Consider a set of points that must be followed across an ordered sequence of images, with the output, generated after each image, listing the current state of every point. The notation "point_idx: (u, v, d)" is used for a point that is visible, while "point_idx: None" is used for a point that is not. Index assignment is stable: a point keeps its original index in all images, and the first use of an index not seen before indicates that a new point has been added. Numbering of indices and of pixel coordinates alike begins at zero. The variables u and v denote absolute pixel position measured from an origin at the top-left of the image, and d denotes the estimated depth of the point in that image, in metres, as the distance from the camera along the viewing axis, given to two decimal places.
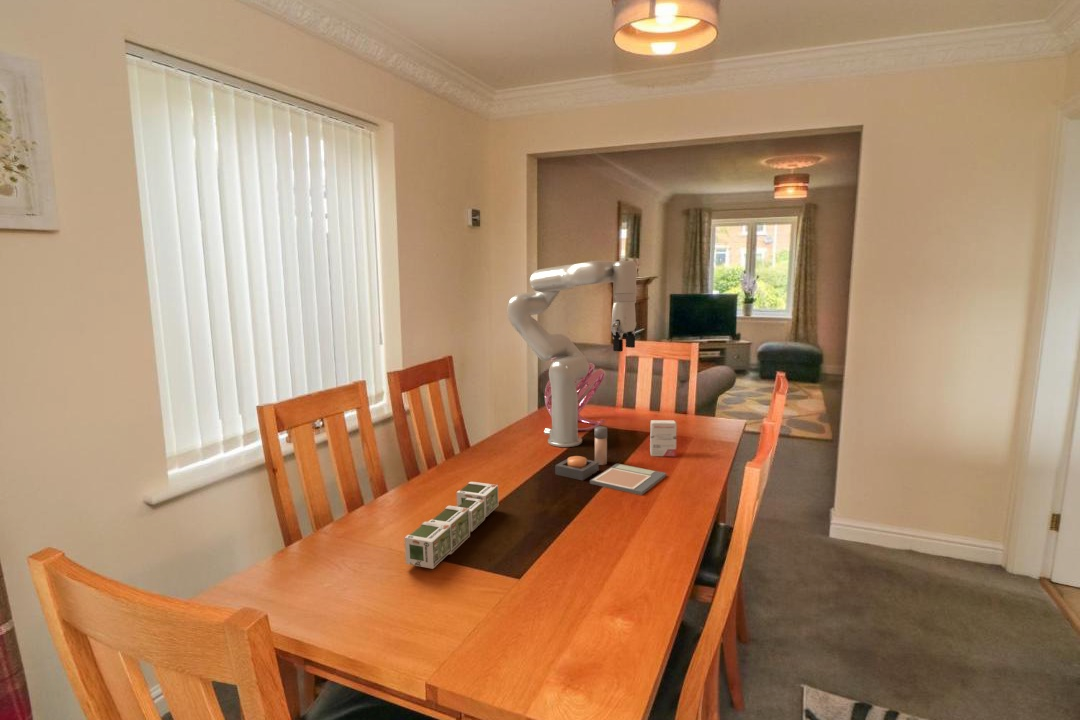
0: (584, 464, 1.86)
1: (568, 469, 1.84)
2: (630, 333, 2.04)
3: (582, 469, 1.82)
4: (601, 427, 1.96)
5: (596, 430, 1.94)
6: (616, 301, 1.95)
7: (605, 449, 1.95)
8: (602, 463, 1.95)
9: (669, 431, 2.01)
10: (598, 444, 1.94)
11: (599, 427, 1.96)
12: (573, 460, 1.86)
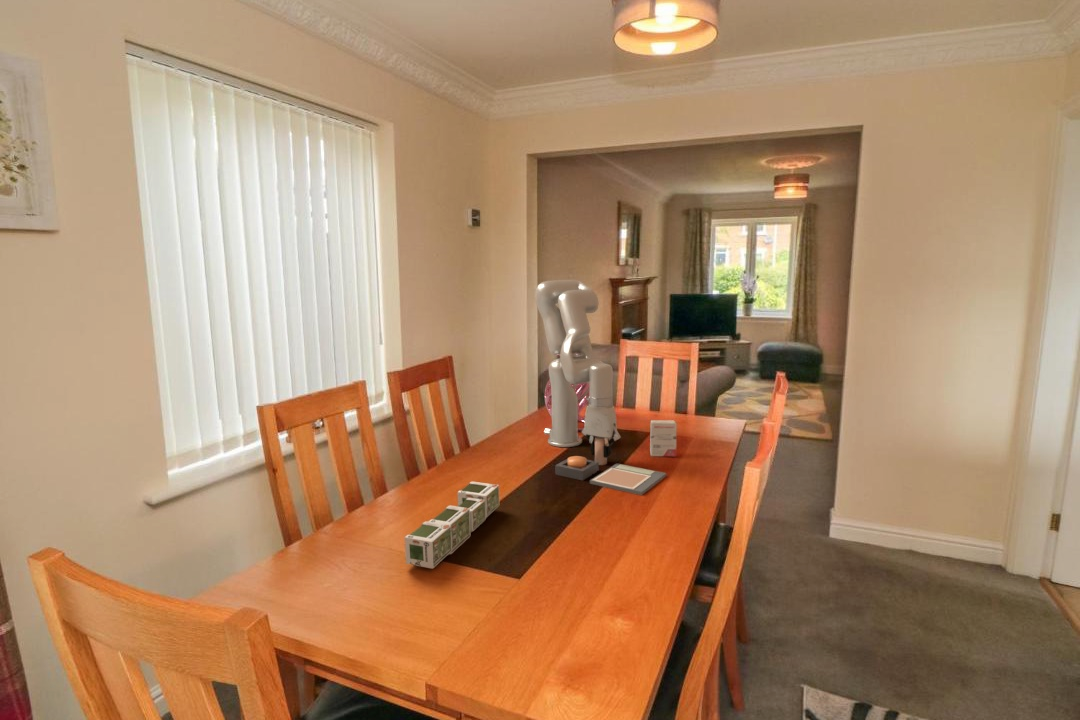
0: (584, 464, 1.86)
1: (568, 469, 1.84)
2: (594, 440, 1.97)
3: (582, 469, 1.82)
4: None
5: None
6: (608, 406, 1.91)
7: None
8: (602, 463, 1.95)
9: (669, 431, 2.01)
10: (598, 444, 1.94)
11: None
12: (573, 460, 1.86)
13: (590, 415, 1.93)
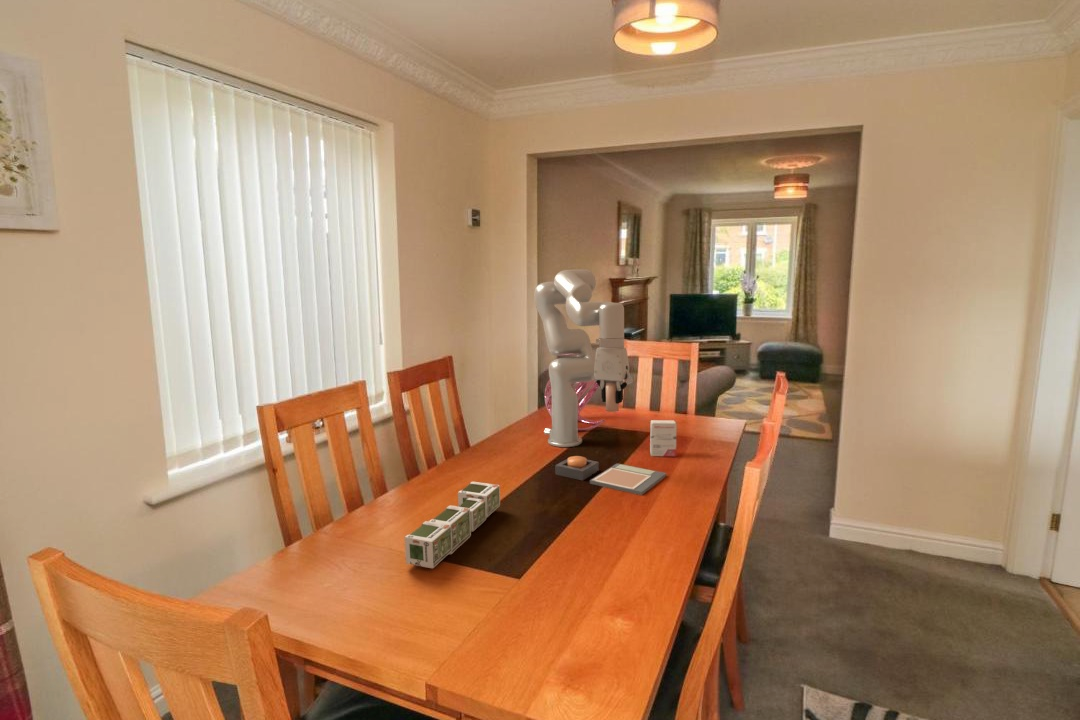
0: (584, 464, 1.86)
1: (568, 469, 1.84)
2: (605, 386, 1.85)
3: (582, 469, 1.82)
4: None
5: None
6: (620, 347, 1.79)
7: None
8: (614, 409, 1.82)
9: (669, 431, 2.01)
10: (609, 389, 1.82)
11: None
12: (573, 460, 1.86)
13: (601, 358, 1.81)
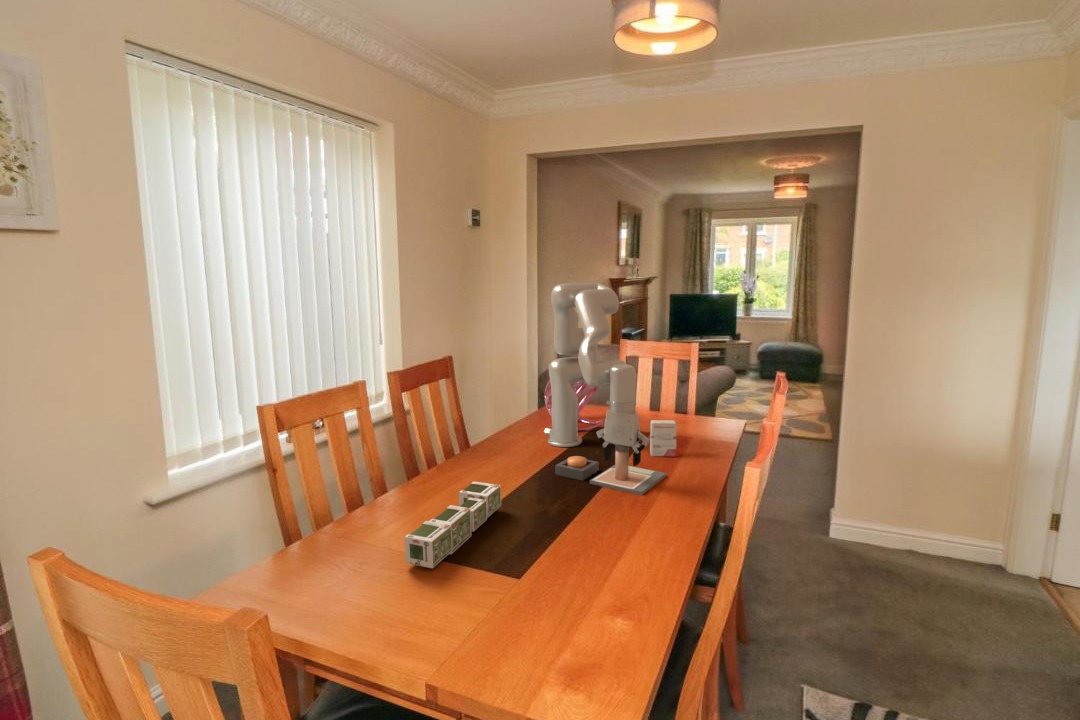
0: (584, 464, 1.86)
1: (568, 469, 1.84)
2: None
3: (582, 469, 1.82)
4: None
5: None
6: (631, 411, 1.73)
7: (627, 463, 1.78)
8: (623, 478, 1.78)
9: (669, 431, 2.01)
10: (619, 458, 1.77)
11: None
12: (573, 460, 1.86)
13: (611, 422, 1.76)
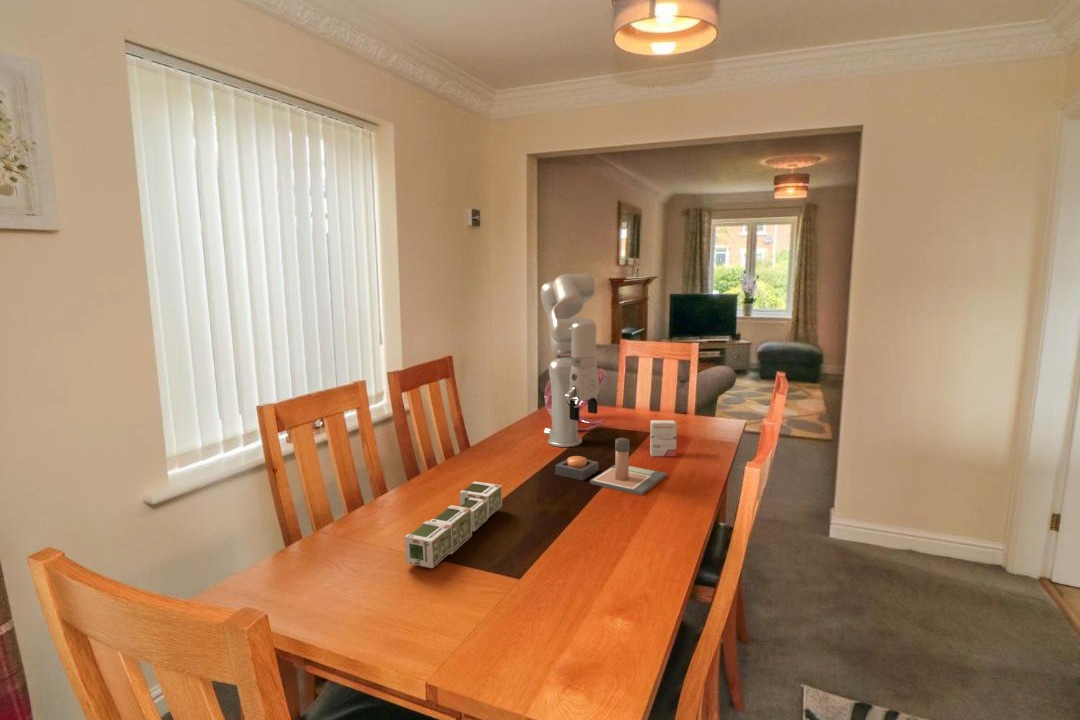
0: (584, 464, 1.86)
1: (568, 469, 1.84)
2: None
3: (582, 469, 1.82)
4: (622, 439, 1.79)
5: (617, 442, 1.77)
6: None
7: (627, 463, 1.78)
8: (623, 478, 1.78)
9: (669, 431, 2.01)
10: (619, 457, 1.77)
11: (620, 439, 1.79)
12: (573, 460, 1.86)
13: (587, 378, 1.78)
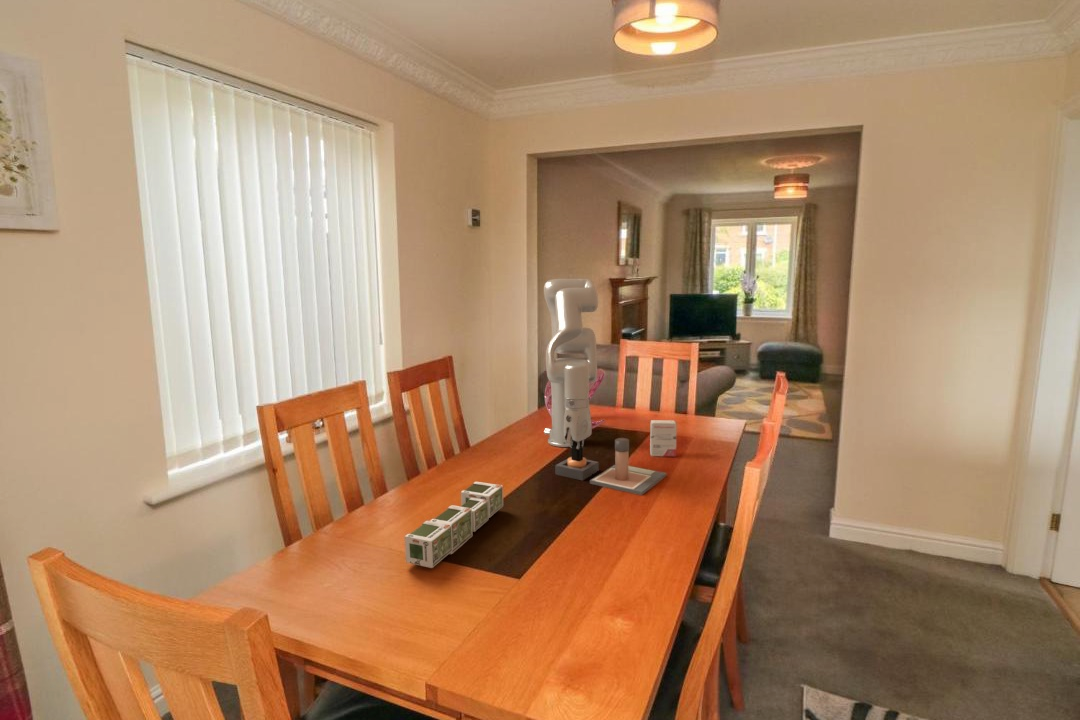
0: (584, 464, 1.86)
1: (568, 469, 1.84)
2: None
3: (582, 469, 1.82)
4: (622, 439, 1.78)
5: (617, 442, 1.77)
6: None
7: (627, 463, 1.78)
8: (623, 478, 1.78)
9: (669, 431, 2.01)
10: (619, 458, 1.77)
11: (620, 439, 1.79)
12: (573, 460, 1.86)
13: (581, 419, 1.82)
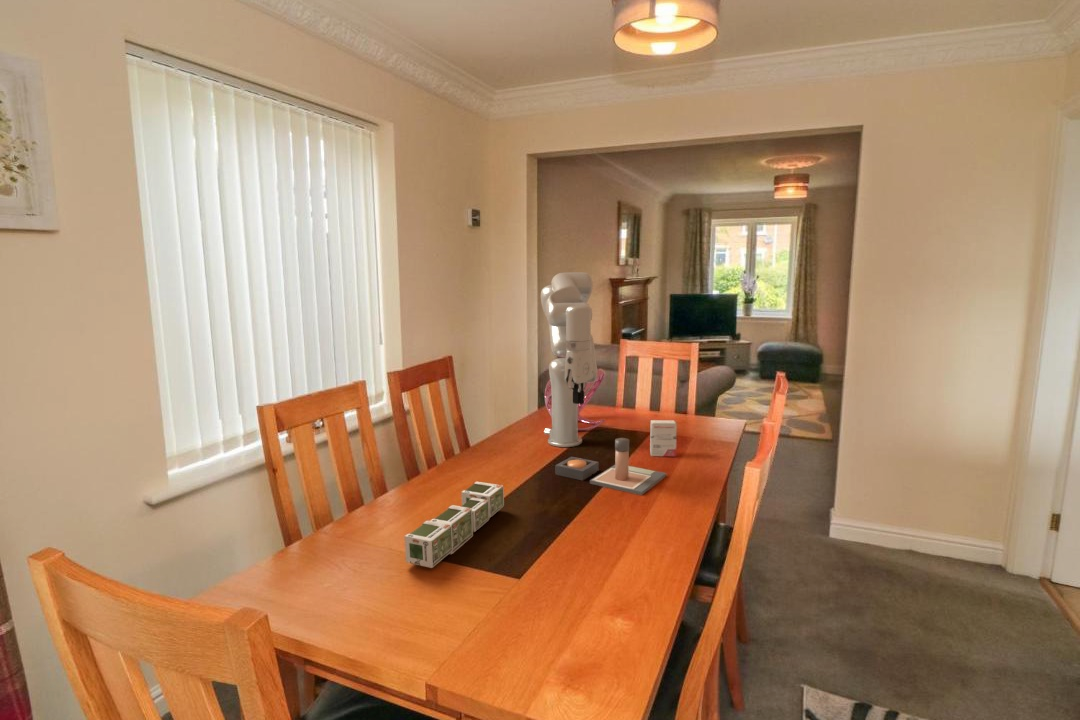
0: None
1: (568, 469, 1.84)
2: None
3: (582, 469, 1.82)
4: (622, 439, 1.79)
5: (617, 442, 1.77)
6: None
7: (627, 463, 1.78)
8: (623, 478, 1.78)
9: (669, 431, 2.01)
10: (619, 457, 1.77)
11: (620, 439, 1.79)
12: (573, 464, 1.87)
13: (582, 361, 1.80)
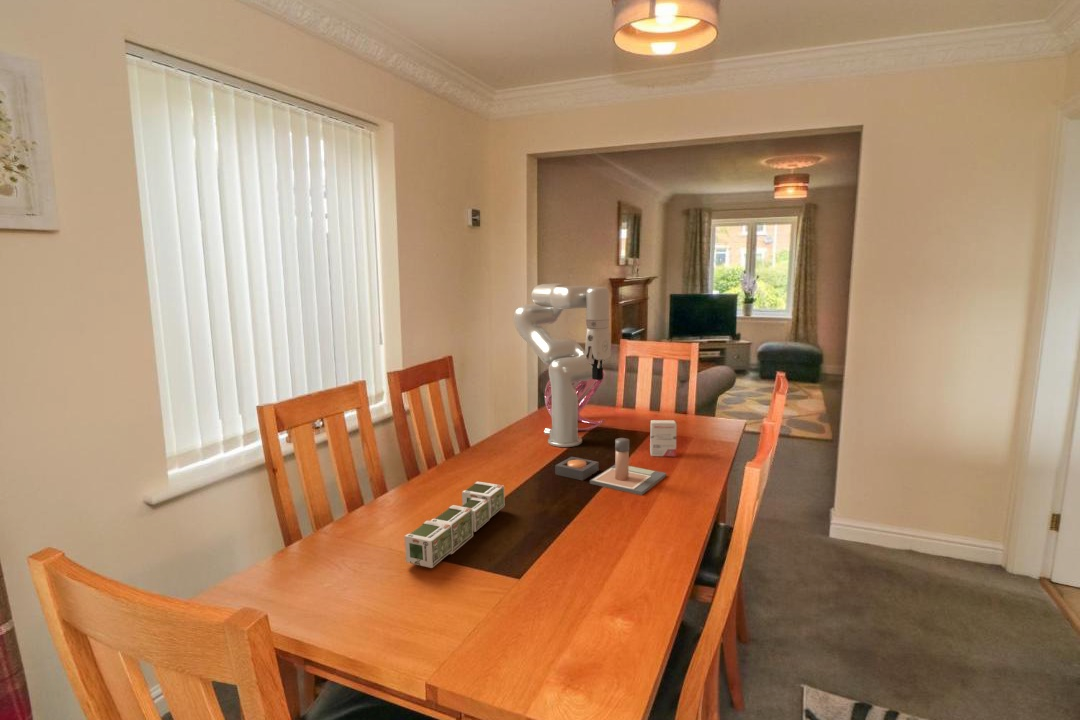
0: None
1: (568, 469, 1.84)
2: None
3: (582, 469, 1.82)
4: (622, 439, 1.78)
5: (617, 442, 1.76)
6: None
7: (627, 463, 1.78)
8: (623, 478, 1.78)
9: (669, 431, 2.01)
10: (619, 458, 1.77)
11: (620, 439, 1.78)
12: (573, 464, 1.87)
13: (601, 339, 1.93)
